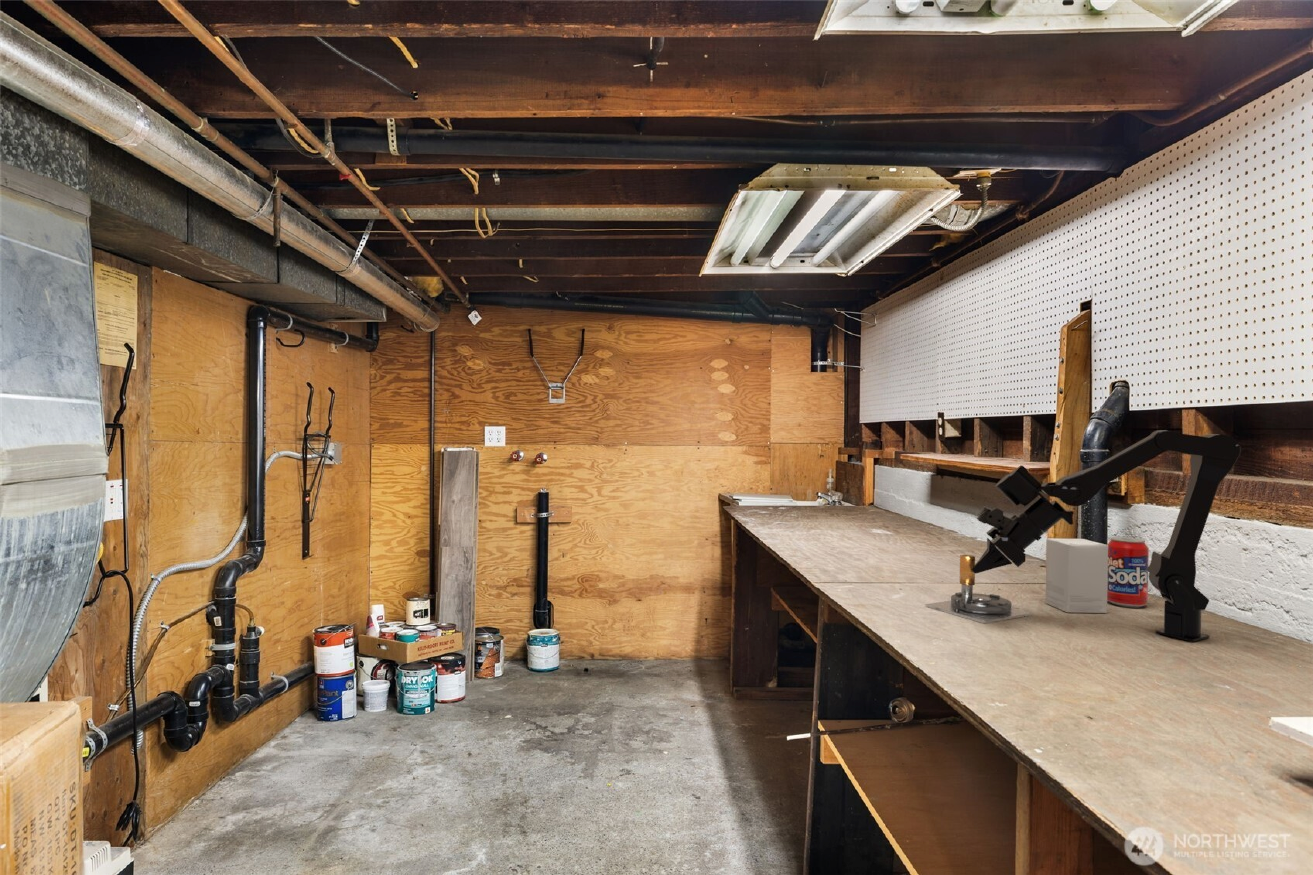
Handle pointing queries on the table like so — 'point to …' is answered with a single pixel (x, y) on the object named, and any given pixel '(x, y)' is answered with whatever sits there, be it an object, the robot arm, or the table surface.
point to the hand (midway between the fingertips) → (973, 571)
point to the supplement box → (1076, 575)
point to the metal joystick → (977, 601)
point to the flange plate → (977, 617)
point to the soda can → (1127, 572)
